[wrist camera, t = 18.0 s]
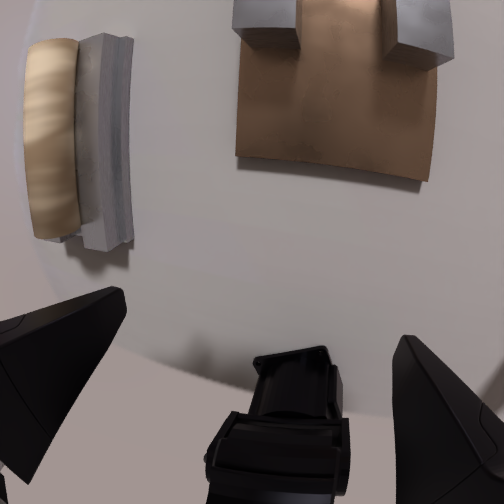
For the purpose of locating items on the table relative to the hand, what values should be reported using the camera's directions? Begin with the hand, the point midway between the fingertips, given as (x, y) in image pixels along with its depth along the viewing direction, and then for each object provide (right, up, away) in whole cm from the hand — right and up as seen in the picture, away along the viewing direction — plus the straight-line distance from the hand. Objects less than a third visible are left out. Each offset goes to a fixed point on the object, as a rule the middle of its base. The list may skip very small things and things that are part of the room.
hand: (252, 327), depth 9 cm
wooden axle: (-14, +11, +9) cm, 20 cm away
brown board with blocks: (+5, +17, +5) cm, 18 cm away
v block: (-14, +11, +12) cm, 21 cm away
